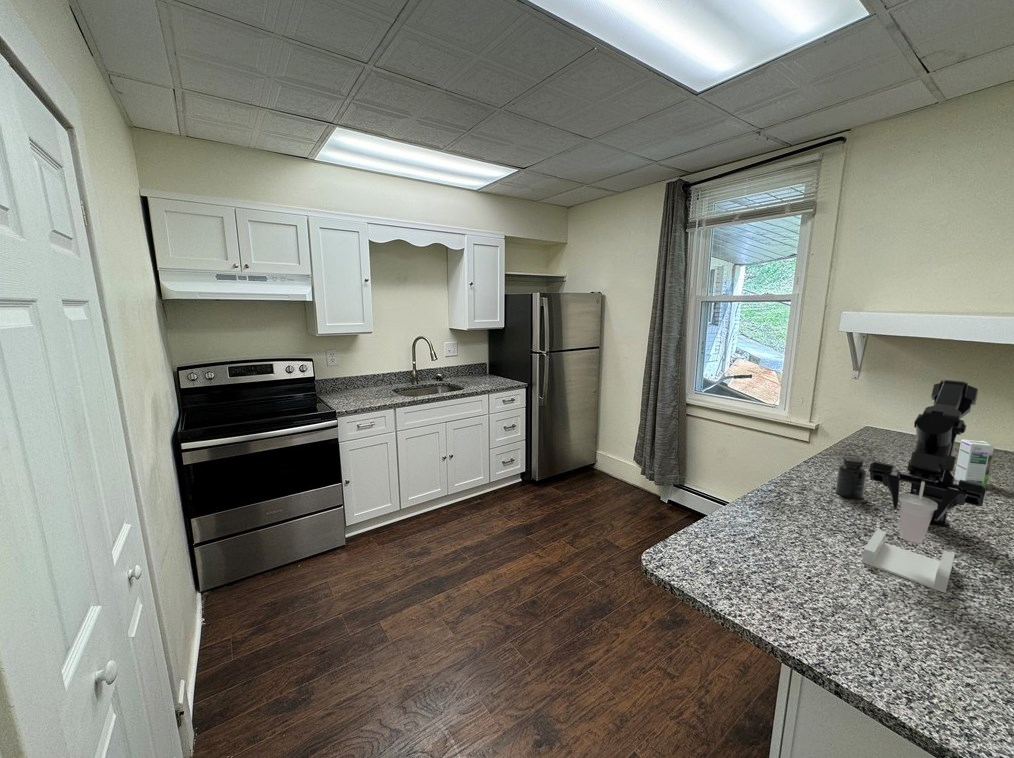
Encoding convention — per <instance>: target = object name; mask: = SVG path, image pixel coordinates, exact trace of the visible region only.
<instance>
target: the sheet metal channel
mask: <svg viewBox="0 0 1014 758" xmlns="http://www.w3.org/2000/svg"><path fill="white" fill-rule="evenodd" d="M886 536H887V531H884V530H881V529H879V528H877V529H875V531H874V533H873V535H872V536H871V538H870V539H869V541H868V542H867V544H866V545H865V547H864V548H863V555H862V559H861V562H862V563H863V564H864V565H865V564H866V565H869V566H871V567H874V568H877V569H879V570H881V571H885V572H887V573H890V574H892V575H895V576H898V577H901V578H904V579H906V580H909V581H911V582H914V583H916V584H920V585H922V586H924V587H926V588H927V587H928V588H931V589H933V590H936V591H939V592H941V593H944V594H947V593H946V592H947V588H948V584H949V581H950V576H951V573H952V569H953V564H954V559H955V555H956V553H955V552H951V551H948V550H942V555H941V556H940V557H941V558H940V560H938V559H934V558H932V557H928V556H925V555H923V554H919V553H916V552H913V551H910V550H907V549H904V548H901V547H898V546H895V545H893V544H889V543H886Z"/></svg>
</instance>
